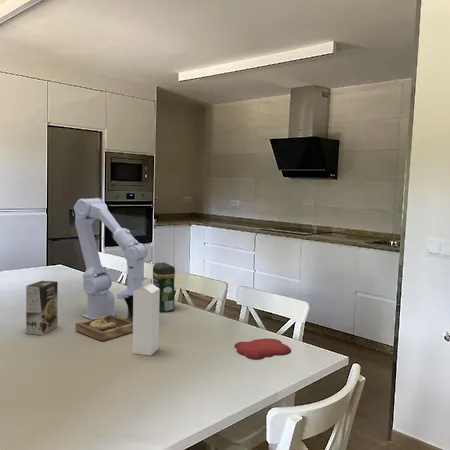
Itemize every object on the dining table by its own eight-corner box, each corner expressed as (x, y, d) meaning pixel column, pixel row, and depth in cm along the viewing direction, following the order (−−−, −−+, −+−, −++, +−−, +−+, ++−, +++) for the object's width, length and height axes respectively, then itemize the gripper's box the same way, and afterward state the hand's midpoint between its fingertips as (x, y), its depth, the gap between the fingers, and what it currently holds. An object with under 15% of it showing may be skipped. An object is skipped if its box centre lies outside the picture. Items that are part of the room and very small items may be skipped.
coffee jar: (149, 307, 189) (150, 261, 187) (167, 305, 193) (168, 260, 191) (157, 313, 181) (158, 266, 179) (176, 311, 185) (177, 264, 183)
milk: (132, 353, 140) (132, 281, 137) (140, 346, 145) (141, 276, 143) (151, 355, 138) (152, 282, 136) (159, 348, 144) (159, 278, 142)
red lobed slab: (249, 362, 136) (249, 356, 136) (227, 347, 149) (227, 341, 149) (298, 354, 144) (298, 348, 144) (273, 340, 157) (274, 334, 156)
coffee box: (43, 335, 152) (42, 287, 151) (25, 333, 153) (25, 285, 152) (58, 327, 161) (58, 281, 159) (41, 325, 162) (41, 279, 161)
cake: (102, 341, 151) (101, 325, 150) (80, 336, 156) (79, 320, 155) (124, 331, 159) (123, 316, 158) (102, 326, 164) (101, 311, 163)
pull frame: (123, 317, 173) (123, 301, 172) (150, 326, 164) (150, 309, 163) (75, 330, 157) (75, 312, 157) (102, 341, 148) (102, 321, 148)
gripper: (126, 283, 158) (126, 322, 160) (158, 276, 169) (157, 313, 171) (113, 279, 163) (113, 317, 164) (145, 273, 174) (144, 309, 175)
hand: (135, 315), depth 168 cm, fingers closed on pull frame, 2 cm apart
